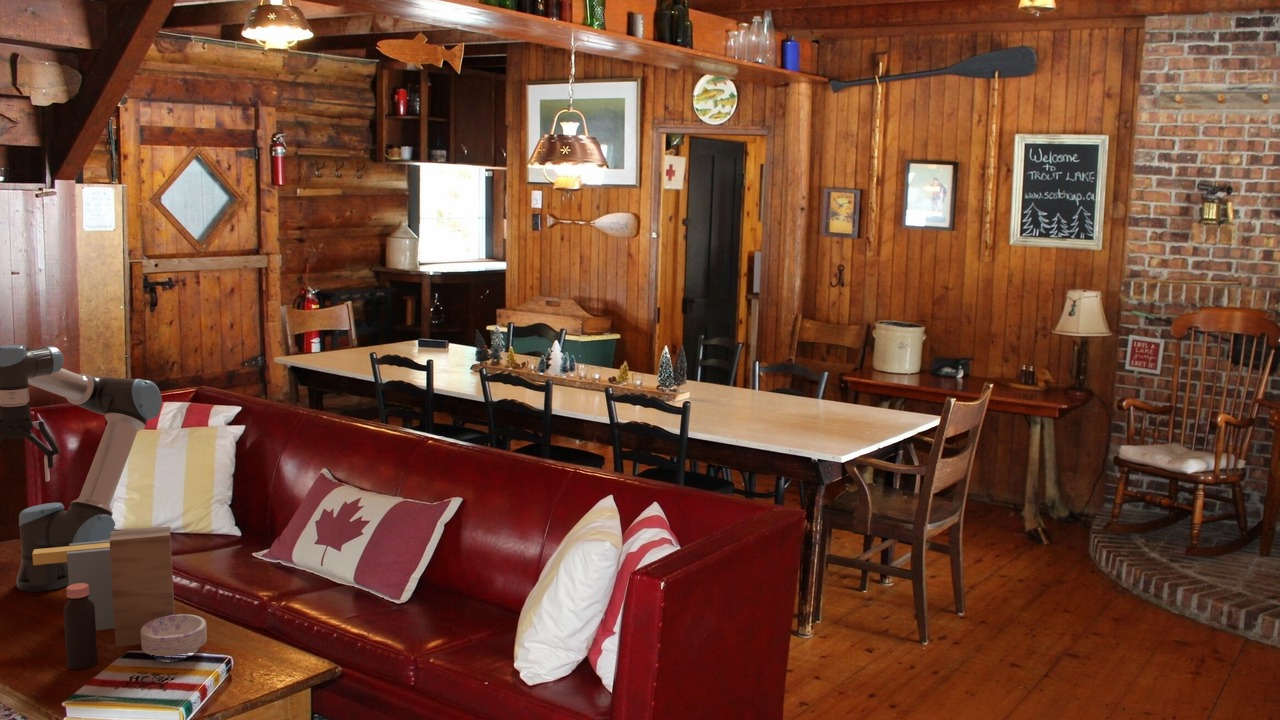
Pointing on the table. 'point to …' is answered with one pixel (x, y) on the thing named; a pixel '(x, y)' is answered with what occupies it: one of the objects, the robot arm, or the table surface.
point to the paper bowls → (173, 635)
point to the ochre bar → (61, 553)
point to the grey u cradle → (94, 580)
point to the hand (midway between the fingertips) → (19, 482)
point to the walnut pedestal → (140, 580)
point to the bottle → (80, 628)
